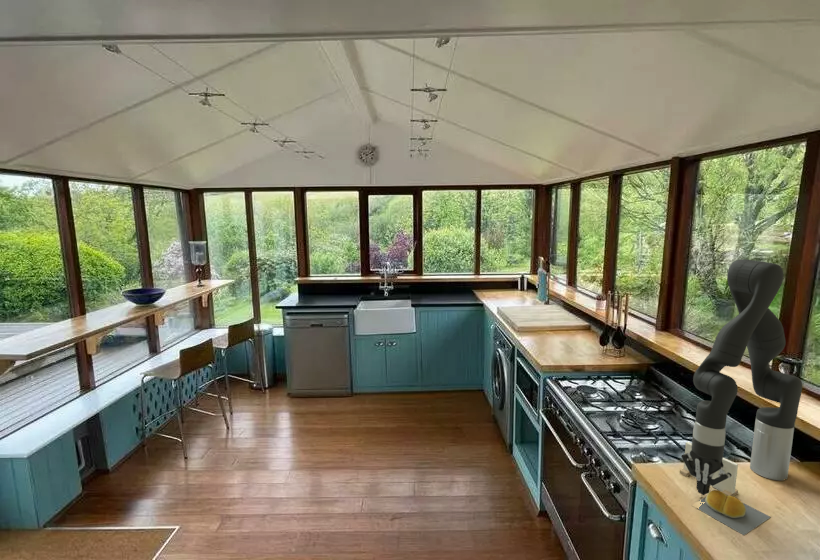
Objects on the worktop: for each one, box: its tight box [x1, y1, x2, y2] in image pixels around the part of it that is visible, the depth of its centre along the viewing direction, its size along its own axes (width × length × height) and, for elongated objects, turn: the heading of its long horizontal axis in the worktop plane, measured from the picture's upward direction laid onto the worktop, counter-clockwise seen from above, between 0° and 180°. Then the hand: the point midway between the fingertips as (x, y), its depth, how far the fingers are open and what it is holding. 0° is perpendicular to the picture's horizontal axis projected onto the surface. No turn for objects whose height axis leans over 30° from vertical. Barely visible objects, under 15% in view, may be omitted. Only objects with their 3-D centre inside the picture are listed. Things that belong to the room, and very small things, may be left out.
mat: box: [698, 489, 771, 536], centre depth 118 cm, size 14×13×1 cm
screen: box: [679, 441, 739, 497], centre depth 129 cm, size 5×14×10 cm, turn 27°
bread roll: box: [704, 489, 746, 518], centre depth 118 cm, size 8×9×4 cm
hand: (702, 492), depth 124 cm, fingers closed
